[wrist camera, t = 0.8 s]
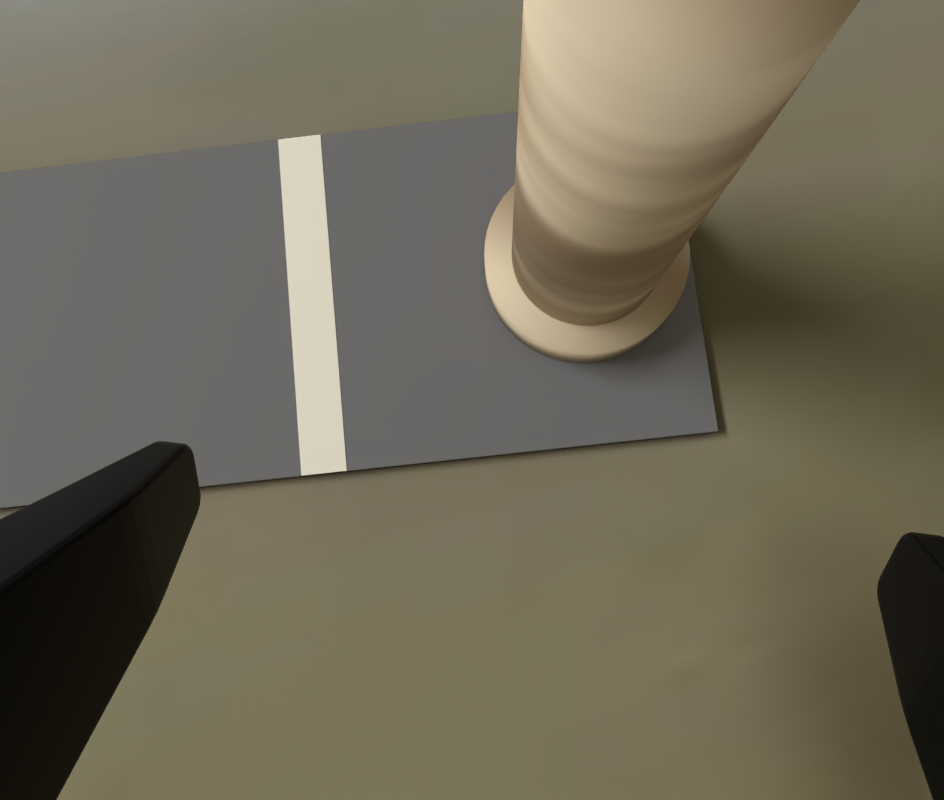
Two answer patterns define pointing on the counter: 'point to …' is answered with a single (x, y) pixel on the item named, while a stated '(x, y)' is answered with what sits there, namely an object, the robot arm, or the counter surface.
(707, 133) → the beech pin
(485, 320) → the mat
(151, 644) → the counter surface
